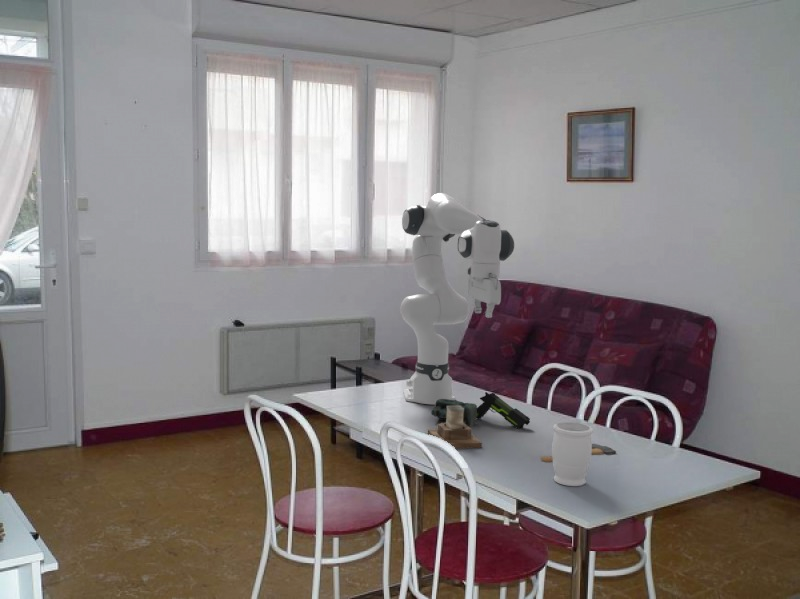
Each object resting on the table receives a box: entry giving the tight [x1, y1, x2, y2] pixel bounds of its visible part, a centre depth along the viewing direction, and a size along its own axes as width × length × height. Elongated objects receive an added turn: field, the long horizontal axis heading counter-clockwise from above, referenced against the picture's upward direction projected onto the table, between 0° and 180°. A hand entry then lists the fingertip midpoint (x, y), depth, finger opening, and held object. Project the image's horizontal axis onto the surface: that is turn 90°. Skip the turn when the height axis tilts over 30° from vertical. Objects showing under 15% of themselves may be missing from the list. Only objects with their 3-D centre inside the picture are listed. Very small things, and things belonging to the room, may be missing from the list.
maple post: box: [445, 405, 464, 429], centre depth 257 cm, size 4×4×9 cm
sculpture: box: [430, 399, 478, 427], centre depth 280 cm, size 12×8×15 cm
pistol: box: [476, 391, 531, 430], centre depth 279 cm, size 21×3×10 cm, turn 54°
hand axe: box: [540, 443, 617, 463], centre depth 249 cm, size 27×2×10 cm
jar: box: [551, 421, 594, 487], centre depth 223 cm, size 11×10×15 cm
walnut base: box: [427, 422, 483, 450], centre depth 257 cm, size 16×12×4 cm
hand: (483, 315), depth 267 cm, fingers open, 8 cm apart
